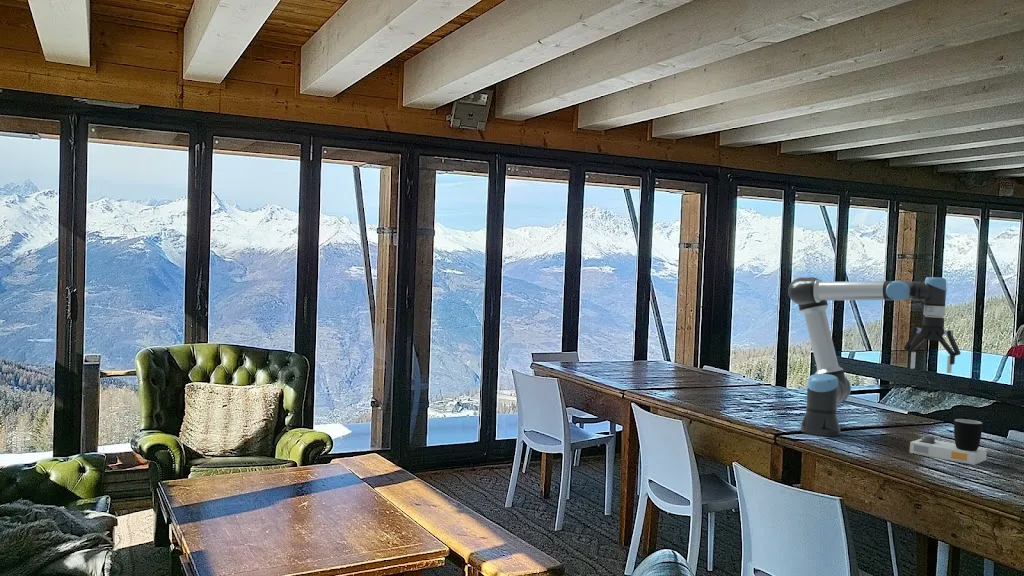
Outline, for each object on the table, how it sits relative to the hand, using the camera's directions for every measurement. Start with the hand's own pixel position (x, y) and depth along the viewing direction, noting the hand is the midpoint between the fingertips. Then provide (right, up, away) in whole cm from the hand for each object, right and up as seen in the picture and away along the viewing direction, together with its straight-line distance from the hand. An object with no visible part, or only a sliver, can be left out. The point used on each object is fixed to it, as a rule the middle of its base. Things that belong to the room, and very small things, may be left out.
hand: (930, 370), depth 332 cm
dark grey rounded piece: (-9, -26, -17) cm, 32 cm away
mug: (-1, -26, -26) cm, 37 cm away
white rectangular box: (-5, -29, -22) cm, 37 cm away
